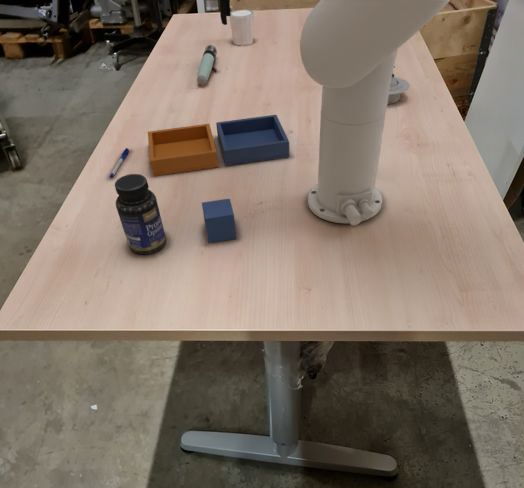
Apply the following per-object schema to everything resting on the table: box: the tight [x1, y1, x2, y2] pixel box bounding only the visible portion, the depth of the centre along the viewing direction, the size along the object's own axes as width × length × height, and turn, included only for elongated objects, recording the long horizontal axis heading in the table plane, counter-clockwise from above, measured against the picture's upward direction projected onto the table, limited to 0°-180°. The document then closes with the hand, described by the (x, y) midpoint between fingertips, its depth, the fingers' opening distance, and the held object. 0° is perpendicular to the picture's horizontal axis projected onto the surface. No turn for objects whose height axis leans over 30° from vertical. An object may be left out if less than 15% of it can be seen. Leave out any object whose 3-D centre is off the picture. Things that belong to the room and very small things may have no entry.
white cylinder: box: [228, 9, 255, 46], centre depth 134 cm, size 7×7×7 cm
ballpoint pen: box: [109, 147, 130, 179], centre depth 95 cm, size 10×1×1 cm, turn 174°
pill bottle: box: [114, 173, 167, 255], centre depth 74 cm, size 6×6×11 cm
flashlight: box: [196, 44, 218, 86], centre depth 123 cm, size 3×4×20 cm
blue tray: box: [215, 114, 290, 167], centre depth 96 cm, size 12×13×3 cm
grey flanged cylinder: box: [387, 65, 410, 105], centre depth 104 cm, size 12×10×10 cm
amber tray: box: [147, 123, 219, 177], centre depth 95 cm, size 12×13×3 cm
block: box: [201, 198, 237, 244], centre depth 77 cm, size 5×5×5 cm
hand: (192, 25), depth 72 cm, fingers open, 9 cm apart
